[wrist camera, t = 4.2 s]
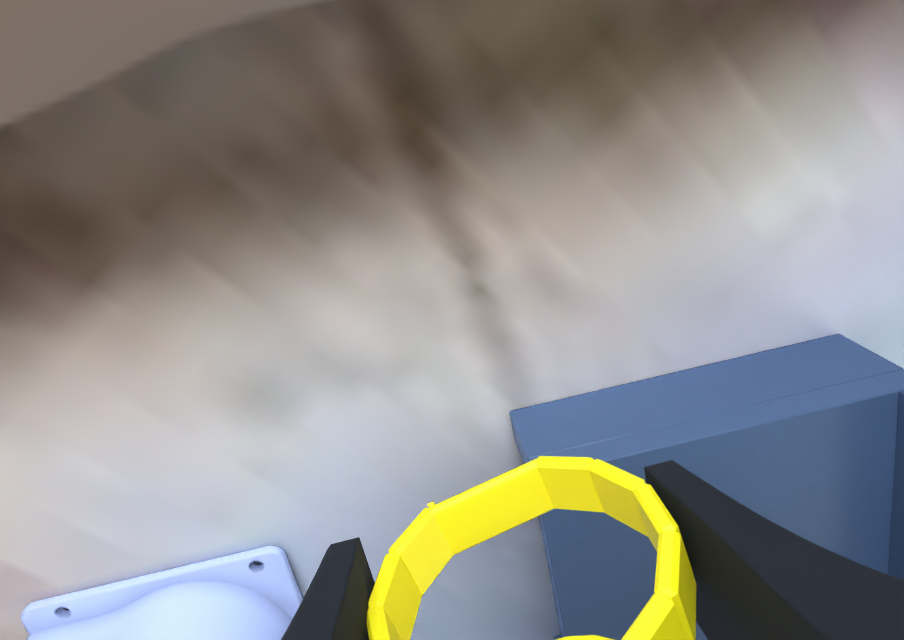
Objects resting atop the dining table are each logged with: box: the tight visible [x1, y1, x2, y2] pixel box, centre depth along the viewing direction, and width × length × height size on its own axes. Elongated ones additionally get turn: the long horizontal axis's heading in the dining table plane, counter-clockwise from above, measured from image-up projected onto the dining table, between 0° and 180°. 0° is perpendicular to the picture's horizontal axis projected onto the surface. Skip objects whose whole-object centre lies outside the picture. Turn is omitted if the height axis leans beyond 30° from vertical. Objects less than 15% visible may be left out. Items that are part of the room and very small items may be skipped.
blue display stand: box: [510, 334, 904, 640], centre depth 22 cm, size 12×12×6 cm
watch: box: [367, 456, 696, 640], centre depth 12 cm, size 6×3×6 cm, turn 111°
